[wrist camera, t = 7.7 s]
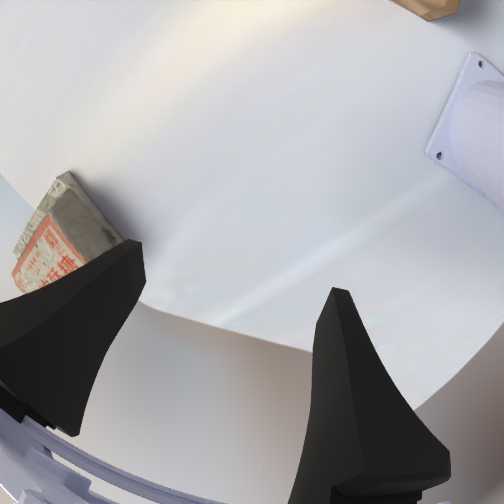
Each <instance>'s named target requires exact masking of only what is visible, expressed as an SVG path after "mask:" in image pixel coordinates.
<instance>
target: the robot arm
mask: <svg viewBox="0 0 504 504" xmlns="http://www.w3.org/2000/svg"><path fill="white" fill-rule="evenodd" d="M479 61H480V62H481V63H482V67H481V68H480V67H479V64H478V63H479ZM438 152H441V157H440V158H437V157H436V155H437V153H438ZM425 153H426V155H427V156H428V157H429V158H430V159H431V160H433V161H434V162H436V163H438V164H439V165H441V166H442V167H444V168H445V169H447V170H448V171H450V172H451V173H453V174H454V175H456V176H457V177H459V178H460V179H462V180H463V181H464V182H466V183H467V184H469V185H470V186H471V187H473V188H474V189H476V190H477V191H478V192H480V193H481V194H482V195H484V196H485V197H486V198H487V199H489V200H490V201H491V202H493V203H494V204H495V205H496V206H498V207H499V208H500V209H501V210H502V211H503V212H504V76H503V75H502V74H501V73H500V72H499V71H498V70H497V69H495V68H494V67H493V66H492V65H491V64H490V63H488V62H487V61H486V60H485V59H484V58H482V57H481V56H480V55H479V54H477V53H476V52H469V53H468V54H467V57H466V59H465V62H464V64H463V67H462V69H461V72H460V74H459V77H458V79H457V82H456V84H455V86H454V89H453V91H452V93H451V95H450V98H449V100H448V102H447V104H446V107H445V109H444V111H443V113H442V115H441V117H440V119H439V121H438V124H437V126H436V128H435V130H434V132H433V134H432V136H431V138H430V140H429V142H428V144H427V146H426V148H425ZM145 284H146V277H145V269H144V261H143V252H142V243H141V242H138V241H134V240H130V239H128V240H126V241H124V242H122V243H120V244H118V245H116V246H115V247H113V248H111V249H110V250H108V251H106V252H105V253H103V254H101V255H100V256H98V257H96V258H95V259H93V260H91V261H90V262H88V263H86V264H85V265H83V266H81V267H79V268H78V269H76V270H74V271H72V272H70V273H69V274H67V275H65V276H63V277H62V278H60V279H58V280H56V281H54V282H52V283H50V284H48V285H46V286H43V287H41V288H39V289H37V290H34V291H32V292H29V293H27V294H24V295H22V296H20V297H17V298H14V299H11V300H8V301H5V302H2V303H0V485H1V487H2V488H3V489H4V490H5V491H6V492H7V493H8V494H9V495H10V496H11V497H12V498H13V499H14V502H13V504H119V503H116V502H114V501H112V500H110V499H107V498H105V497H103V496H101V495H99V494H97V493H95V492H93V491H91V490H89V487H90V485H91V480H89V479H88V478H86V477H84V476H82V475H81V474H79V473H77V472H75V471H74V470H72V469H70V468H68V467H67V466H65V465H63V464H61V463H60V462H58V461H56V460H54V459H53V457H52V453H51V451H53V452H54V453H56V454H57V455H59V456H61V457H62V458H64V459H66V460H67V461H69V462H71V463H72V464H74V465H76V466H78V467H79V468H81V469H83V470H85V471H87V472H88V473H90V474H92V475H94V476H96V477H98V478H100V479H102V480H104V481H106V482H109V483H110V484H113V485H115V486H117V487H119V488H121V489H124V490H126V491H128V492H131V493H133V494H136V495H138V496H141V497H143V498H146V499H148V500H151V501H154V502H157V503H160V504H225V503H220V502H217V501H212V500H208V499H204V498H201V497H197V496H193V495H190V494H186V493H183V492H180V491H177V490H174V489H171V488H167V487H164V486H162V485H159V484H156V483H153V482H151V481H148V480H145V479H143V478H140V477H138V476H135V475H133V474H130V473H128V472H126V471H123V470H121V469H119V468H117V467H115V466H112V465H110V464H108V463H106V462H104V461H102V460H100V459H98V458H96V457H94V456H92V455H90V454H88V453H86V452H84V451H83V450H80V449H79V448H77V447H75V446H74V445H72V444H70V443H68V442H67V441H65V440H63V439H62V438H60V437H58V436H57V435H55V434H53V433H52V432H50V431H49V430H47V429H46V426H49V427H50V428H52V429H53V430H55V429H56V428H57V429H59V430H60V431H62V432H64V433H65V434H67V435H69V436H70V437H75V436H77V435H79V433H80V428H81V424H82V419H83V416H84V412H85V408H86V405H87V401H88V398H89V395H90V392H91V389H92V386H93V384H94V381H95V378H96V376H97V373H98V370H99V368H100V366H101V364H102V361H103V359H104V357H105V355H106V353H107V351H108V349H109V347H110V345H111V343H112V342H113V340H114V339H115V337H116V335H117V333H118V332H119V330H120V329H121V327H122V326H123V324H124V322H125V321H126V319H127V318H128V316H129V314H130V313H131V311H132V310H133V308H134V306H135V305H136V303H137V301H138V299H139V297H140V295H141V292H142V290H143V288H144V286H145ZM50 450H51V451H50ZM450 477H451V463H450V452H449V450H448V449H447V448H446V447H445V446H444V445H443V444H442V443H441V442H440V441H439V440H438V439H437V438H436V437H435V436H434V435H433V434H432V433H431V432H430V431H429V429H428V428H427V427H426V426H425V425H424V424H423V422H422V421H421V420H420V419H419V418H418V416H417V415H416V414H415V412H414V411H413V410H412V408H411V407H410V406H409V404H408V403H407V402H406V400H405V399H404V397H403V396H402V395H401V393H400V392H399V390H398V389H397V387H396V386H395V384H394V382H393V381H392V379H391V377H390V376H389V374H388V373H387V371H386V369H385V367H384V365H383V364H382V362H381V360H380V358H379V356H378V354H377V352H376V350H375V348H374V346H373V344H372V342H371V340H370V338H369V336H368V334H367V331H366V329H365V327H364V325H363V323H362V320H361V318H360V316H359V313H358V311H357V309H356V306H355V304H354V302H353V299H352V297H351V295H350V293H349V291H348V290H344V289H339V288H335V287H332V289H331V291H330V294H329V296H328V298H327V301H326V303H325V305H324V308H323V310H322V312H321V314H320V317H319V319H318V321H317V323H316V329H315V336H314V344H313V362H312V391H311V407H310V414H309V420H308V426H307V431H306V436H305V441H304V446H303V451H302V455H301V459H300V463H299V467H298V471H297V475H296V479H295V482H294V485H293V489H292V492H291V495H290V498H289V501H288V504H417V501H420V500H421V499H422V491H423V490H426V489H429V488H432V487H434V486H437V485H439V484H442V483H444V482H446V481H448V480H449V478H450ZM437 504H450V501H446V502H442V503H437Z"/></svg>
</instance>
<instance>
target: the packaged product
mask: <svg viewBox="0 0 504 504" xmlns="http://www.w3.org/2000/svg"><path fill="white" fill-rule="evenodd" d="M122 242H124V240H123V239H122V237H121V236H120V235H119V234H118V233H117V231H116V230H115V229H114V228H113V227H112V225H111V224H110V223H109V222H108V220H107V219H106V218H105V217H104V216H103V214H102V213H101V212H100V211H99V210H98V208H97V207H96V206H95V205H94V204H93V202H92V201H91V200H90V198H89V197H88V196H87V194H86V193H85V192H84V191H83V189H82V188H81V187H80V185H79V184H78V183H77V181H76V180H75V179H74V178H73V176H72V175H71V174H70V172H68V171H67V172H65V173H64V174H62V175H60V176H58V177H56V180H55V181H54V183H53V184H52V186H51V187H50V189H49V190H48V192H47V193H46V195H45V196H44V198H43V200H42V201H41V203H40V205H39V206H38V207H37V209H36V211H35V213H34V214H33V216H32V218H31V219H30V221H29V223H28V224H27V226H26V228H25V230H24V232H23V234H22V235H21V237H20V239H19V241H18V243H17V244H16V246H15V249H14V250H13V252H12V253H13V255H15V257H16V258H17V259H18V262H17V264H16V266H15V268H14V269H13V272H12V274H11V275H12V277H13V278H14V280H15V284H16V286H17V287H18V288H19V289H20V291H22V292H23V293H25V294H27V293H29V292H32V291H34V290H37V289H39V288H41V287H43V286H46V285H48V284H50V283H52V282H54V281H56V280H58V279H60V278H62V277H63V276H65V275H67V274H69V273H70V272H72V271H74V270H76V269H78V268H79V267H81V266H83V265H85V264H86V263H88V262H90V261H91V260H93V259H95V258H96V257H98V256H100V255H101V254H103V253H105V252H106V251H108V250H110V249H111V248H113V247H115V246H116V245H118V244H120V243H122Z"/></svg>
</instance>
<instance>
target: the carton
mask: <svg viewBox="0 0 504 504" xmlns="http://www.w3.org/2000/svg"><path fill="white" fill-rule="evenodd" d="M390 1H392V2H394V3H395V4H397V5H399V6H401V7H403V8H405V9H407V10H409V11H410V12H412V13H414V14H416V15H417V16H419V17H421V18H423V19H424V20H426V21H430V20H434V19H437V18H440V17H444V16H447V15H451V14H454V13H456V11H457V8H458V5H459V2H460V0H390Z"/></svg>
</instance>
